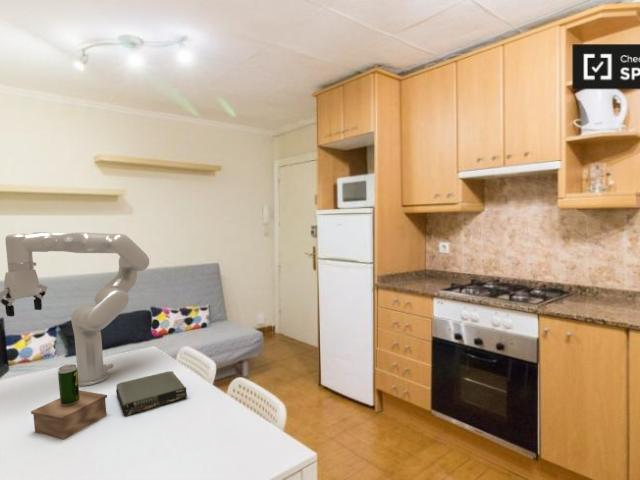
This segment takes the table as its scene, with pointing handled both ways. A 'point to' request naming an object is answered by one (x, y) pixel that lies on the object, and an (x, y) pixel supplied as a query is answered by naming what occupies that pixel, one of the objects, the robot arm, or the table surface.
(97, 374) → the robot arm
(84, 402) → the wooden block
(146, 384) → the network switch
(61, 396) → the beer can
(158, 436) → the table surface
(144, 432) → the table surface
